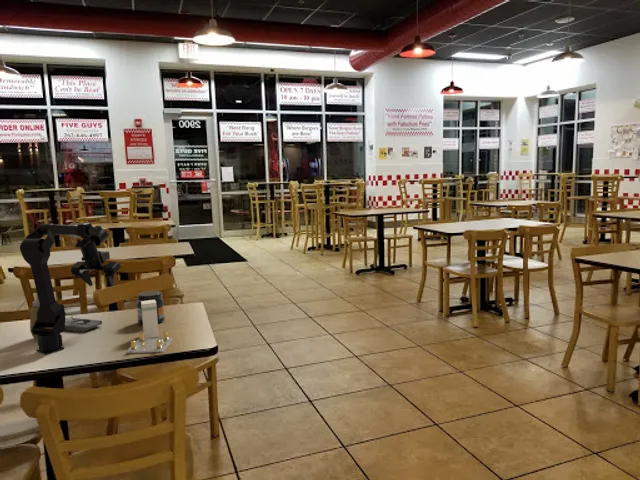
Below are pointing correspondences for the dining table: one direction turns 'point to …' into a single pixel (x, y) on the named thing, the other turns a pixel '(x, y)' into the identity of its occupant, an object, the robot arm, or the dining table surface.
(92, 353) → the dining table surface
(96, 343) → the dining table surface
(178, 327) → the dining table surface
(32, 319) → the squeeze bottle
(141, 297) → the supplement container
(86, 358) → the dining table surface
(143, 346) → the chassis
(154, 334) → the block
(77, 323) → the graphics card
